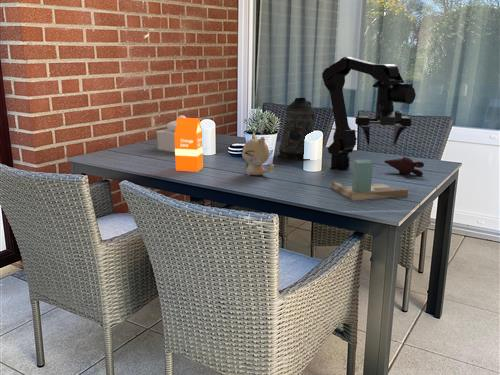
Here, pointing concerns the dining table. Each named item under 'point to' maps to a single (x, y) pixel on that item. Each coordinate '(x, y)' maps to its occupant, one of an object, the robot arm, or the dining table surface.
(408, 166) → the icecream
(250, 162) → the kitten
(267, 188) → the dining table surface
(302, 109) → the dark translucent jar
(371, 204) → the dining table surface
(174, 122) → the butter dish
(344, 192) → the tan tray
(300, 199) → the dining table surface
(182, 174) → the dining table surface
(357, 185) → the block
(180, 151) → the orange juice
